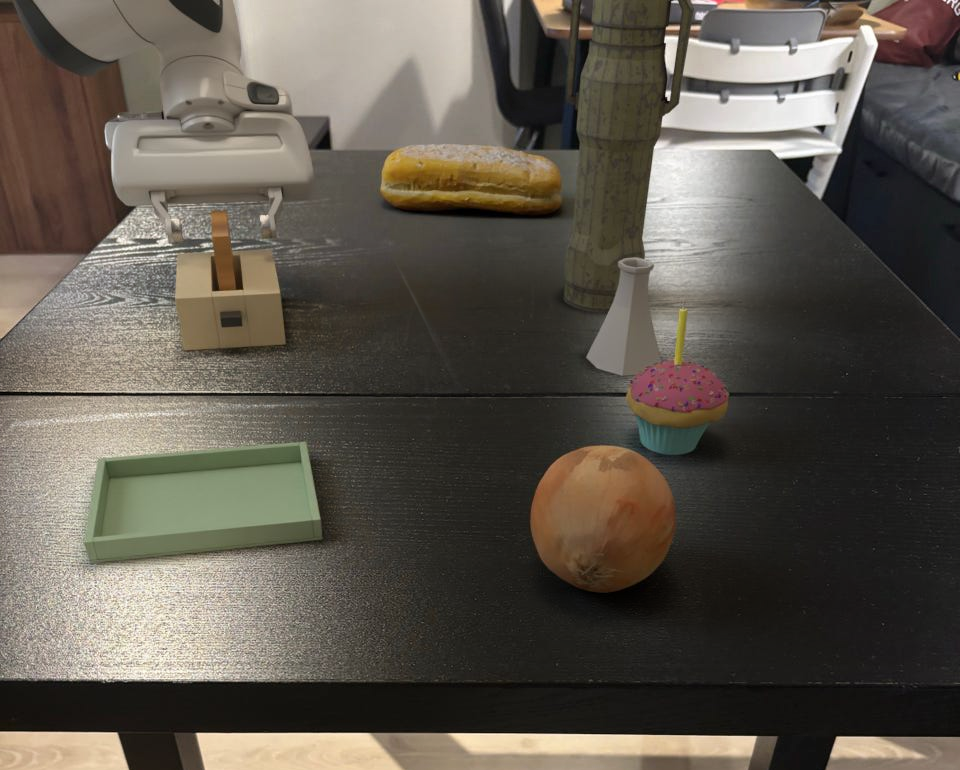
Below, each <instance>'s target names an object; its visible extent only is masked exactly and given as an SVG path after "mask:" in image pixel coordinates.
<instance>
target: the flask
mask: <svg viewBox="0 0 960 770" xmlns="http://www.w3.org/2000/svg"><path fill="white" fill-rule="evenodd" d="M618 267H619V268H620V279H619V285H618V288H617V291H616V295H615V298H614V301H613V304H612V306H611V308H610V310H609V312H608V313H606V317H605V319H604V320H603V323H602V325H601V327H600V329H599V331H598V332H597V334H596V337H595V339H594V341H593V343H592V344H591V346H590V349H589V350H588V352H587V355H586V356H585V358H586V359H587V360H588V361H589V362H590V363H591V364H592V365H593V366H594V367H595V368H596V369H597V370H602V371H605V372H607V373H611V374H615V375H618V376H621V377H624V376H632V375H633V376H634V375H637V374H638V373H639V372H640V371H642V370H643V369H645V367H647V366H652V365H653V364H654V363H655V364H656V363H658V364H659V363H661V361H662V358H661V354H660V350H659V344H658V341H657V338H656V337H657V336H656V333H655V328H654V322H653V318H652V313H651V308H650V300H649V297H650V296H649V281H650V273H651V271H653V270H654V268H655V264H654V263H653V262H652V261H650V260H649V259H641V258H637V257H635V258H624V259H622V260H620V261H618Z"/></svg>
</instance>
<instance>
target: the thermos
mask: <svg viewBox="0 0 960 770" xmlns="http://www.w3.org/2000/svg"><path fill="white" fill-rule="evenodd" d="M673 1H675V0H592V10H591V22H590V23H591V24H592V34H591V39H590V40H589V45H588V46H589V47H588V54H587V56H586V59H585V63H584V65H583V68H582V71H581V73H580V82H579V90H577V91H576V93H575V94H574V92H575V86H576V73H577V59H578V48H579V47H578V45H579V35H580V34H579V32H580V21H581V10H582V9H581V8H582V0H571V10H570V11H571V12H570V23H569V37H568V50H567V51H568V53H567V66H566V78H565V79H566V80H565V81H566V82H565V83H566V84H565V103H566V104H570V105H574V110H576V111H577V117H576V118H577V119H576V135H577V137H578V141H579V149H578V161H577V171H576V183H575V195H574V206H573V207H574V208H573V220H572V231H571V237H570V240H569V242H568V245H567V247H566V249H565V256H564V268H563V269H564V270H563V271H564V272H563V279H564V292H563V298H562V299H563V300H564V303H566V304H567V305H569V306H571V307H573V308H575V309H578V310H581V311H584V312H590V313H601V314H608V312H609V310H610V308H611V306H612V304H613V301H614V298H615V295H616V291H617V288H618V285H619V279H620V268H619V267H618V261H620V260H622V259H624V258H635V257H637V258H641V259H645V257H646V251H645V246H644V239H643V236H644V228H645V220H646V213H647V205H648V197H649V189H650V182H651V181H650V180H651V174H652V168H653V167H652V166H653V158H654V151H655V147H656V144H657V142H658V141H659V139H660V137H661V132H662V124H663V117H664V116H666V115H668V114H670V113H671V112H672V111H673V110H674V109H675V108H676V107H677V106H678V105H679V104H680V100H681V92H682V82H683V77H684V76H683V75H684V70H685V64H686V59H687V53H688V48H689V47H688V46H689V40H690V35H691V30H692V22H693V18H694V11H695V8H694V5H693V2H692V0H677V3H678V4H679V7H680V9H681V15H680V22H679V28H678V29H679V30H678V38H677V45H676V52H675V58H674V67H673V73H672V80H671V88H670V96H669V100H668V96H667V95H666V94H667V88H668V87H667V86H668V79H669V77H668V70H667V64H666V57H665V56H666V49H667V43H666V42H665V41H666V40H665V39H666V32H667V27H669V23H670V15H671V9H672V2H673Z"/></svg>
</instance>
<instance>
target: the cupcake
mask: <svg viewBox="0 0 960 770" xmlns="http://www.w3.org/2000/svg"><path fill="white" fill-rule="evenodd" d="M681 305H682V306H681V308H679V311H678V322H677V330H676V339H675V351H674V359H670V360H665V361H663V360H661V363H659V364H658V363H656V364H655V363H654V364H653V365H652V366H647V367H645V369H643V370H642V371H640V372H639V373H638V374H634V375H633V378H632V379H630V381H629V385H628V390H627V392H626V395H625V402H626V405H628V407H629V409H630V410H631V411H632V413H633V414H634V416H635V419H636V422H637V428H638V433H639V439H640V440H639V441H640V443H641V444H642V446H644V447H645V448H646V449H648V450H649V451H652V452H655V453H658V454H662V455H668V456H669V455H670V456H679V455H685V454H688V453H690V452H693V451H694V450H695V449H696V447H697V446H698V443H699V441H700V439H701V437H702V436H703V434H704V433H705V431H706V430H707V428H708V427H709V425H710V424H711V423H717V422H719V421H720V420H721V419H723V417H724V416H725V415H726V413H727V410H728V407H729V397H730V393H729V392H728V390H727V388H728V386H727V385H725V383H723V382H722V381H721V379H720V376H718V375H717V373H715V372H714V371H713V370H712V371H711V370H710V369H708V368H707V367H705V366H704V365H698V364H696V363H695V362H691V361H683V358H684V357H683V356H684V348H685V339H686V338H685V337H686V330H687V329H686V328H687V319H688V309H686V298H682V304H681Z"/></svg>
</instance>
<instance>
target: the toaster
mask: <svg viewBox="0 0 960 770" xmlns="http://www.w3.org/2000/svg"><path fill="white" fill-rule="evenodd" d="M232 252H233V259H234V267H235V274H236V281H237V289H238V290H231V291H220V289H219V282H218V276H217V269H216V262H215V255H214V251H202V252H184V253H183V252H180V253H179V252H178V253H177V255H176V256H177V257H176V272H175V273H176V274H175V288H174V289H175V290H174V291H175V292H174V302H175V307H176V308H175V309H176V313H177V318H178V324H179V329H180V335H181V341H182V347H183V350H184V352H198V351H212V350H213V351H214V350H229V349H231V350H232V349H244V348H245V349H246V348H261V347H276V346H286V345H287V342H286V341H287V340H286V333H285V324H284V323H285V322H284V314H283V304H282V294H281V289H280V285H279V279H278V274H277V269H276V263H275V257H274V252H273V249H247V250H232Z"/></svg>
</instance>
